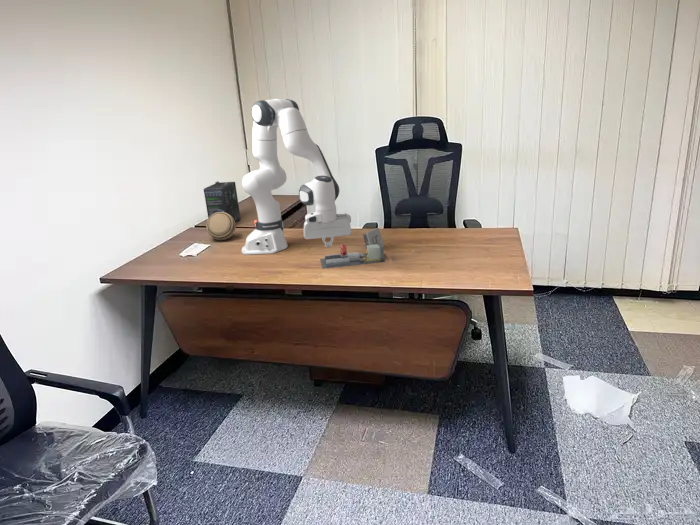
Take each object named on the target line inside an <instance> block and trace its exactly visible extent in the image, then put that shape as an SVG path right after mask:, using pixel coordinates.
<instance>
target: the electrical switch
mask: <svg viewBox="0 0 700 525" xmlns="http://www.w3.org/2000/svg"><path fill="white" fill-rule="evenodd" d="M362 237H363V240H364V244H365V248H366V249H367V245H376V244H377V241H380V242H381V243H382V245H383V246H384V241H383V237H382V234H381V230H380V228H379V227H376V228H373V229H372V230H369V231H367V232H365V233H364V234H362Z"/></svg>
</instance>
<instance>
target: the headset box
mask: <svg viewBox="0 0 700 525" xmlns="http://www.w3.org/2000/svg"><path fill="white" fill-rule="evenodd" d="M203 194H204V199H205V200H204V201H205V206H206V212H207V219H208V218H209V217H210V216H211V215H212V214H214V213H216V212H225V213H228V214H229V215H231V216H232V217H233V219H234V221H235V224H237V223H238V222H239V221H241V220H240V219H241V213H240V205H239V201H238V199H239V198H238V193H237V184H236V181H227V182H226V181H224V182H220V181H215V182H214V184H211V185H209V186H207V187H204V188H203ZM238 220H239V221H238ZM237 221H238V222H237ZM236 222H237V223H236Z"/></svg>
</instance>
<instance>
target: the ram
mask: <svg viewBox="0 0 700 525" xmlns="http://www.w3.org/2000/svg"><path fill="white" fill-rule="evenodd" d="M339 245H340V247H339V248H340V253H339V254H340V258H346V257H349V261H356V260H360V258H365V257H366V253H365V252H364V253H360V252H359V251H357V252H355V251H354V252H347V251H348V249H347V243H341V244H339Z"/></svg>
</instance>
